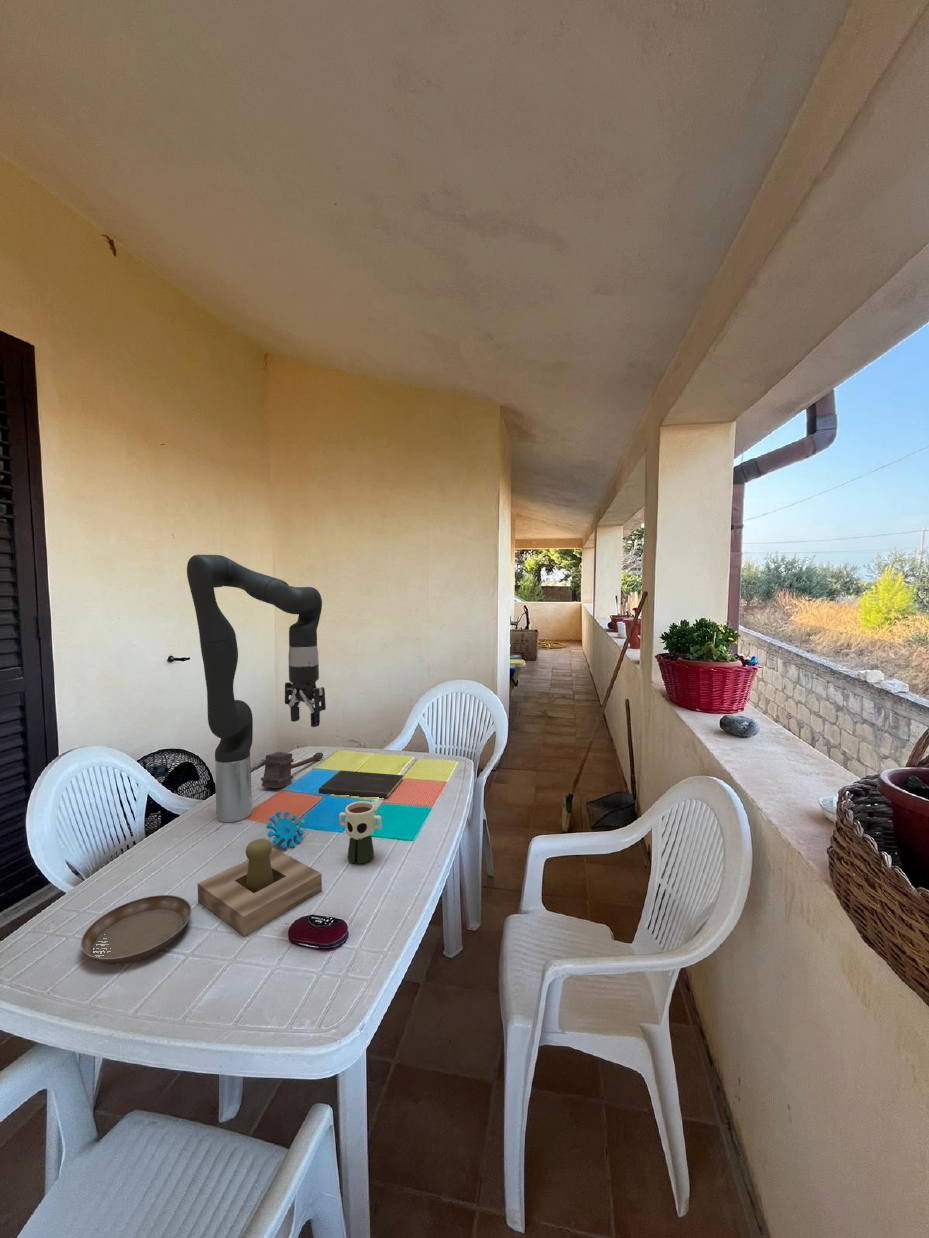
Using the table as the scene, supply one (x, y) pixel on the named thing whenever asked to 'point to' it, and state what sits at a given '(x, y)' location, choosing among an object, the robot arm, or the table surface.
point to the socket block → (259, 893)
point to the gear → (285, 829)
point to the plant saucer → (137, 929)
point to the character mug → (360, 829)
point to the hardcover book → (361, 784)
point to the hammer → (282, 768)
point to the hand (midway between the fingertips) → (305, 723)
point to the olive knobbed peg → (259, 865)
